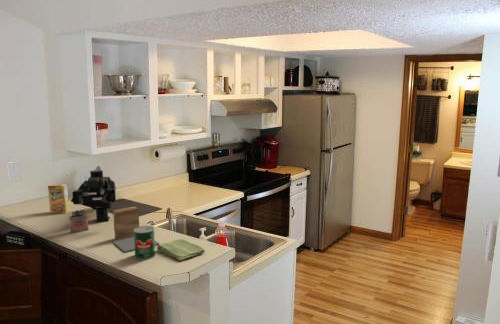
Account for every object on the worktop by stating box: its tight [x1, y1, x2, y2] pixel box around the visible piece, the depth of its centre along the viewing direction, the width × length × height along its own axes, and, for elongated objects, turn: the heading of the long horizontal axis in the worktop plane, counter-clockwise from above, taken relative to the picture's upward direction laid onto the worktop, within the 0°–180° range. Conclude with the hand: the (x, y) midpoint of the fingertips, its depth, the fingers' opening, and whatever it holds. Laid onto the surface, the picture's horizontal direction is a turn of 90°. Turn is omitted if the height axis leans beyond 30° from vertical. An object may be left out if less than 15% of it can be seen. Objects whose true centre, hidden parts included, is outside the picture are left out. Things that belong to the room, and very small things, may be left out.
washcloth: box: [156, 238, 206, 262], centre depth 174 cm, size 13×18×3 cm
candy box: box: [47, 183, 70, 214], centre depth 233 cm, size 9×4×15 cm, turn 87°
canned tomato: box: [134, 225, 156, 261], centre depth 170 cm, size 8×8×11 cm
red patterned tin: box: [68, 209, 89, 234], centre depth 201 cm, size 8×3×10 cm, turn 123°
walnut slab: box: [112, 206, 140, 241], centre depth 191 cm, size 4×10×13 cm, turn 126°
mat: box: [112, 237, 160, 254], centre depth 184 cm, size 15×15×1 cm
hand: (91, 200), depth 192 cm, fingers open, 9 cm apart
